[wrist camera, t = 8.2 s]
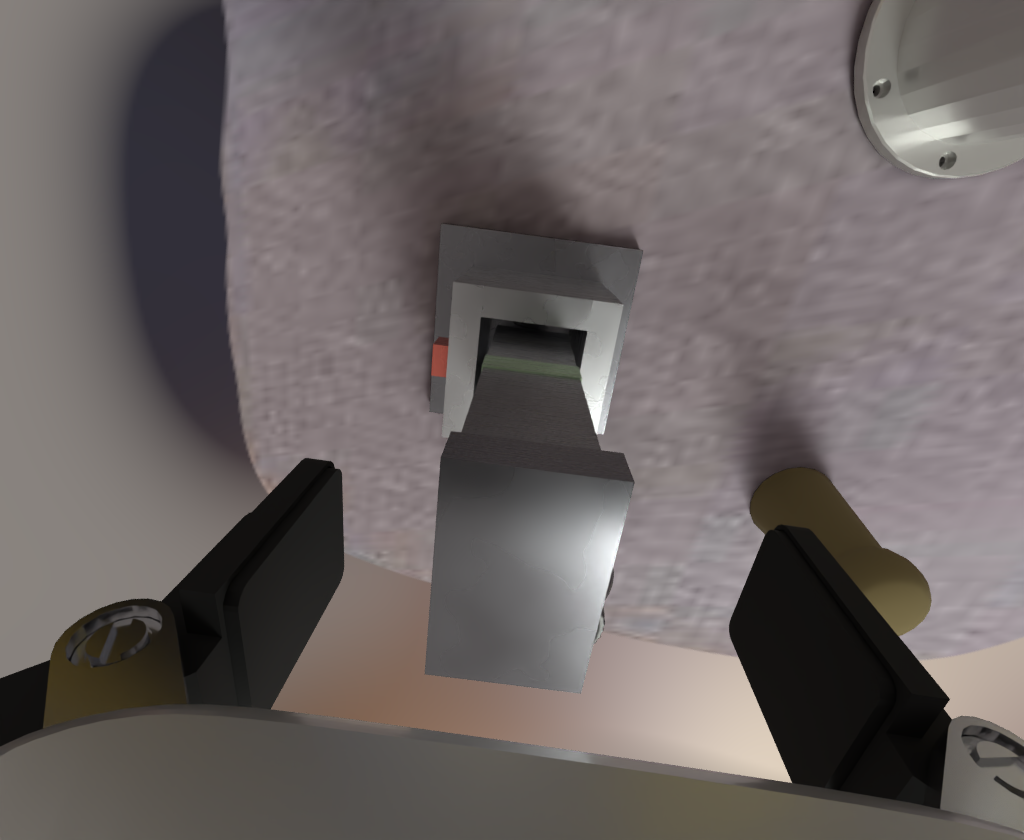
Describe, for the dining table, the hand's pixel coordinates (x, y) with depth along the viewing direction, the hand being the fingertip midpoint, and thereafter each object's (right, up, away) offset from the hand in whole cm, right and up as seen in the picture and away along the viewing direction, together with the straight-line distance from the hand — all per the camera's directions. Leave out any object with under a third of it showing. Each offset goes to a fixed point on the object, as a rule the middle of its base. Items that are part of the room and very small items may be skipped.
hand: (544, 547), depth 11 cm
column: (0, +6, +15) cm, 16 cm away
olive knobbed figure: (+20, -3, +25) cm, 33 cm away
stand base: (0, +9, +21) cm, 23 cm away
